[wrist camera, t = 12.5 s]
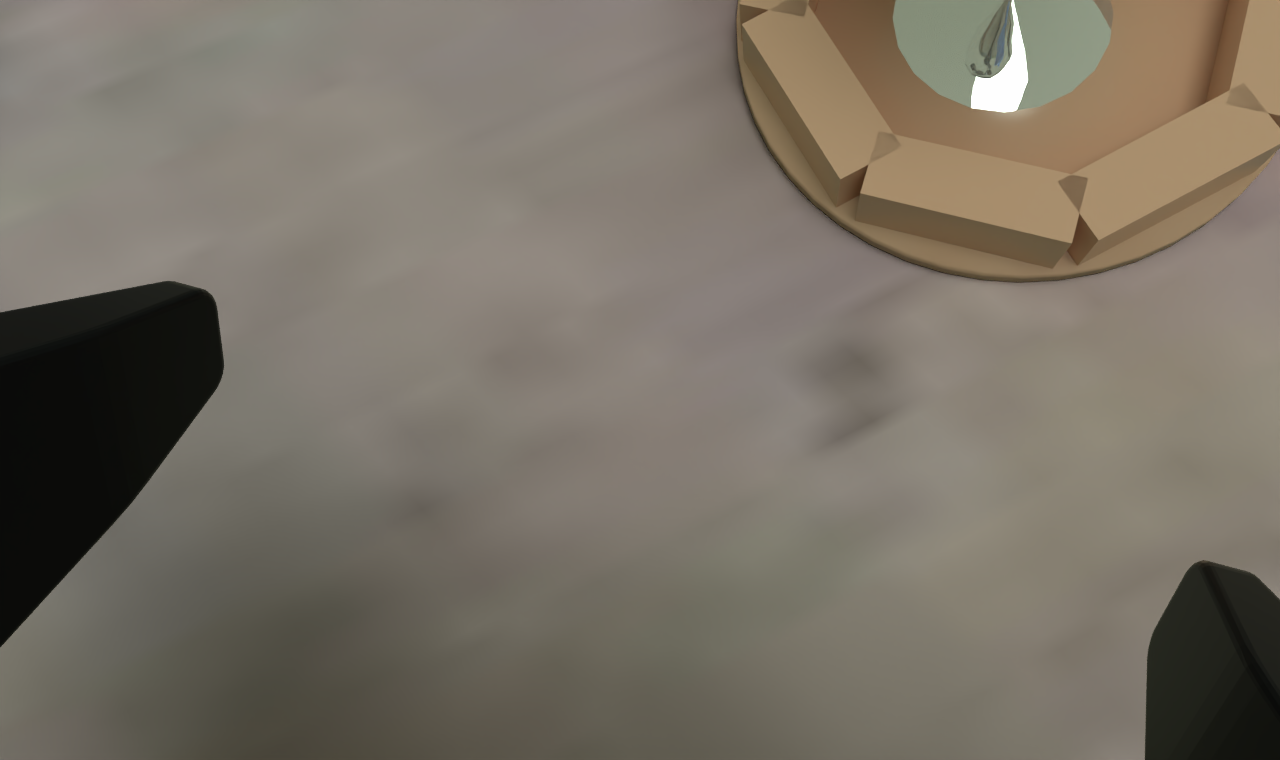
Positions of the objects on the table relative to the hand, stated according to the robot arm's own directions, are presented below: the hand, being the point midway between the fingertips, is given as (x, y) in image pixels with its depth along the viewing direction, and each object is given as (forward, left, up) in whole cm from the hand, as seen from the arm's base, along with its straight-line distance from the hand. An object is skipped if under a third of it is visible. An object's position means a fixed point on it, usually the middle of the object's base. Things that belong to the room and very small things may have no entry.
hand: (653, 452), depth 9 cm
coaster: (+8, -12, -14) cm, 20 cm away
